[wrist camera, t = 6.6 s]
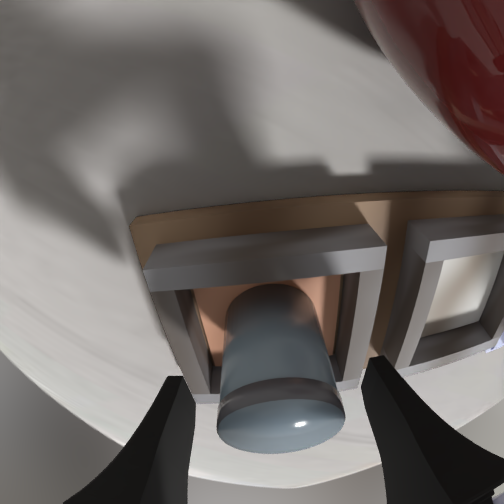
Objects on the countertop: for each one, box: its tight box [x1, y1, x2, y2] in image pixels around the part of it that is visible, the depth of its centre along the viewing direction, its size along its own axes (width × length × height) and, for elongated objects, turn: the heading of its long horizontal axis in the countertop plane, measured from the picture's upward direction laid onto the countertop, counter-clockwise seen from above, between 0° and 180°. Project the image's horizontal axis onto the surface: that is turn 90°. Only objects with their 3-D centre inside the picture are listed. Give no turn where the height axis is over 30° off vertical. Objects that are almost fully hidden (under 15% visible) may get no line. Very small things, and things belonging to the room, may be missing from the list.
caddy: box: [129, 191, 504, 404], centre depth 13 cm, size 22×11×3 cm, turn 96°
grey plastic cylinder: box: [217, 284, 345, 454], centre depth 11 cm, size 4×4×6 cm
